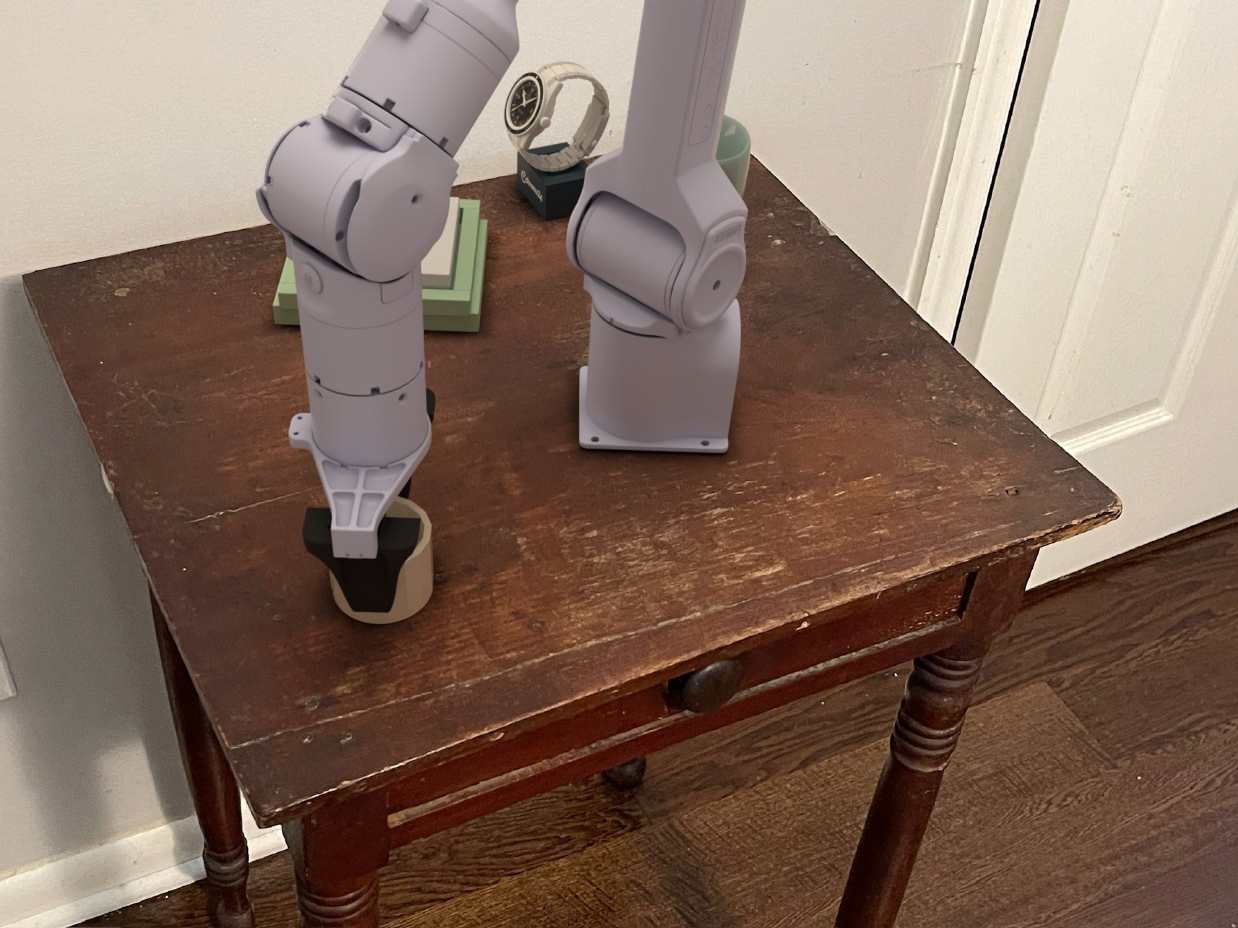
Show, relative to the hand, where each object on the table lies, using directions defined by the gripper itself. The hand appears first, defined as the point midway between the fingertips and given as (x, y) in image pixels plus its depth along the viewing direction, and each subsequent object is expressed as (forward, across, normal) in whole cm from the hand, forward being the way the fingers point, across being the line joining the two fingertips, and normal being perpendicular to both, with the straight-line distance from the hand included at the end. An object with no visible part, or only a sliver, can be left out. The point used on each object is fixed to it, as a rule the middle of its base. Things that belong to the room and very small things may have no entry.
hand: (379, 555), depth 74 cm
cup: (+3, -35, +19) cm, 40 cm away
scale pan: (0, -30, -3) cm, 30 cm away
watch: (+3, -42, +9) cm, 43 cm away
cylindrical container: (+3, 0, 0) cm, 3 cm away
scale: (+2, -30, -3) cm, 30 cm away
